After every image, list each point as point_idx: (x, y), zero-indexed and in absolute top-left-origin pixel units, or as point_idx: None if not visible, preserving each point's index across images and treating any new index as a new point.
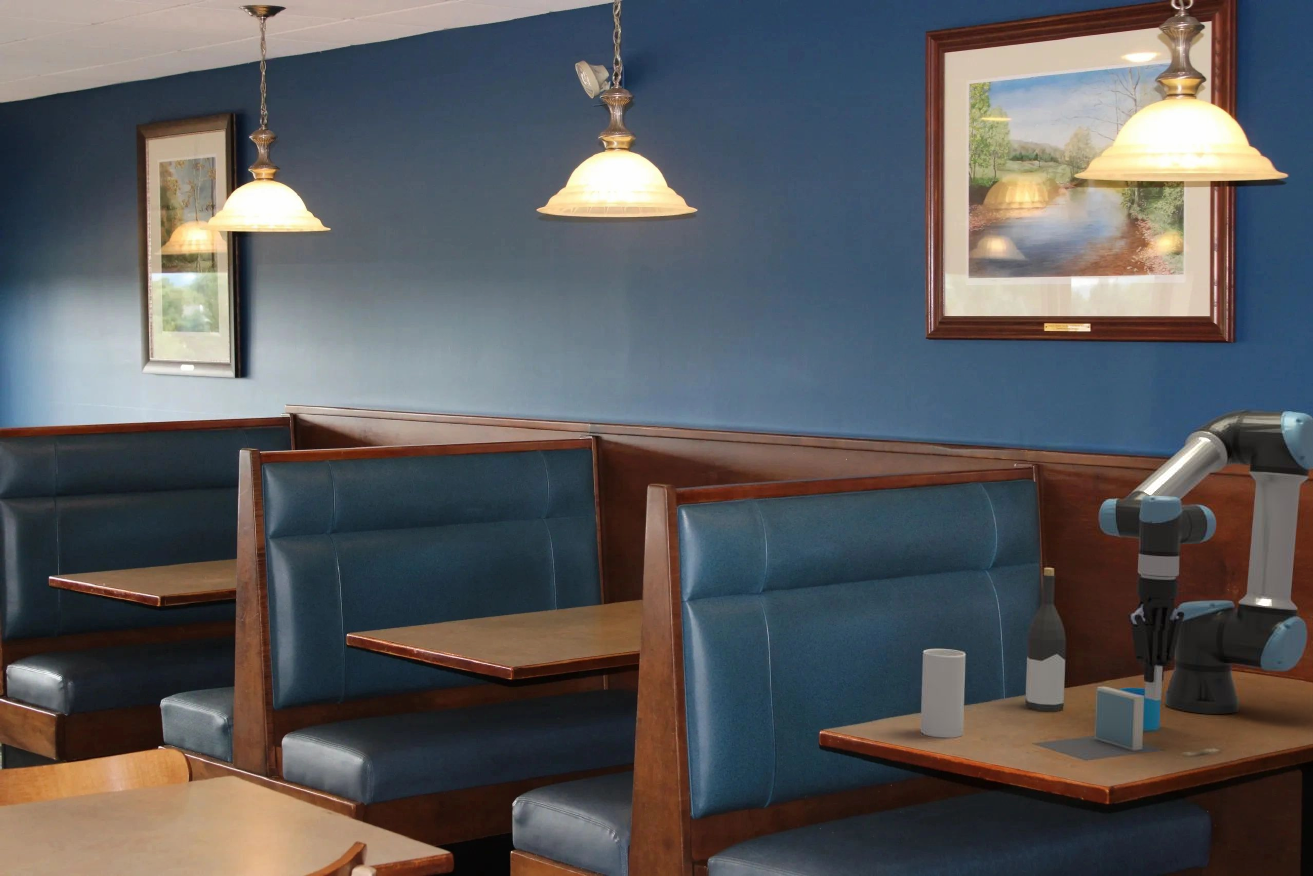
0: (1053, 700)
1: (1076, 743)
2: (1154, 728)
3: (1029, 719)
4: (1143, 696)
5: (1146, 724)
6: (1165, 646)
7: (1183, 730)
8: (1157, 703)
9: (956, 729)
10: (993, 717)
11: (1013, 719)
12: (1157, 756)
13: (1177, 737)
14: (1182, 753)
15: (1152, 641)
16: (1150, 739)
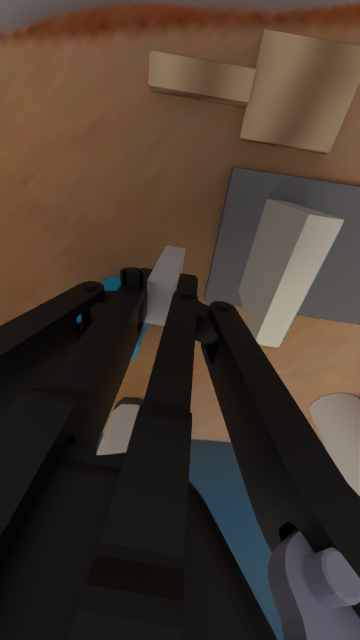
0: (137, 409)
1: (311, 290)
2: (117, 281)
3: (192, 395)
4: (311, 214)
5: None
6: (104, 321)
7: (51, 274)
8: None
9: (351, 401)
10: (217, 413)
11: (207, 401)
12: None
13: (92, 251)
14: (248, 101)
15: (193, 360)
16: (144, 266)
